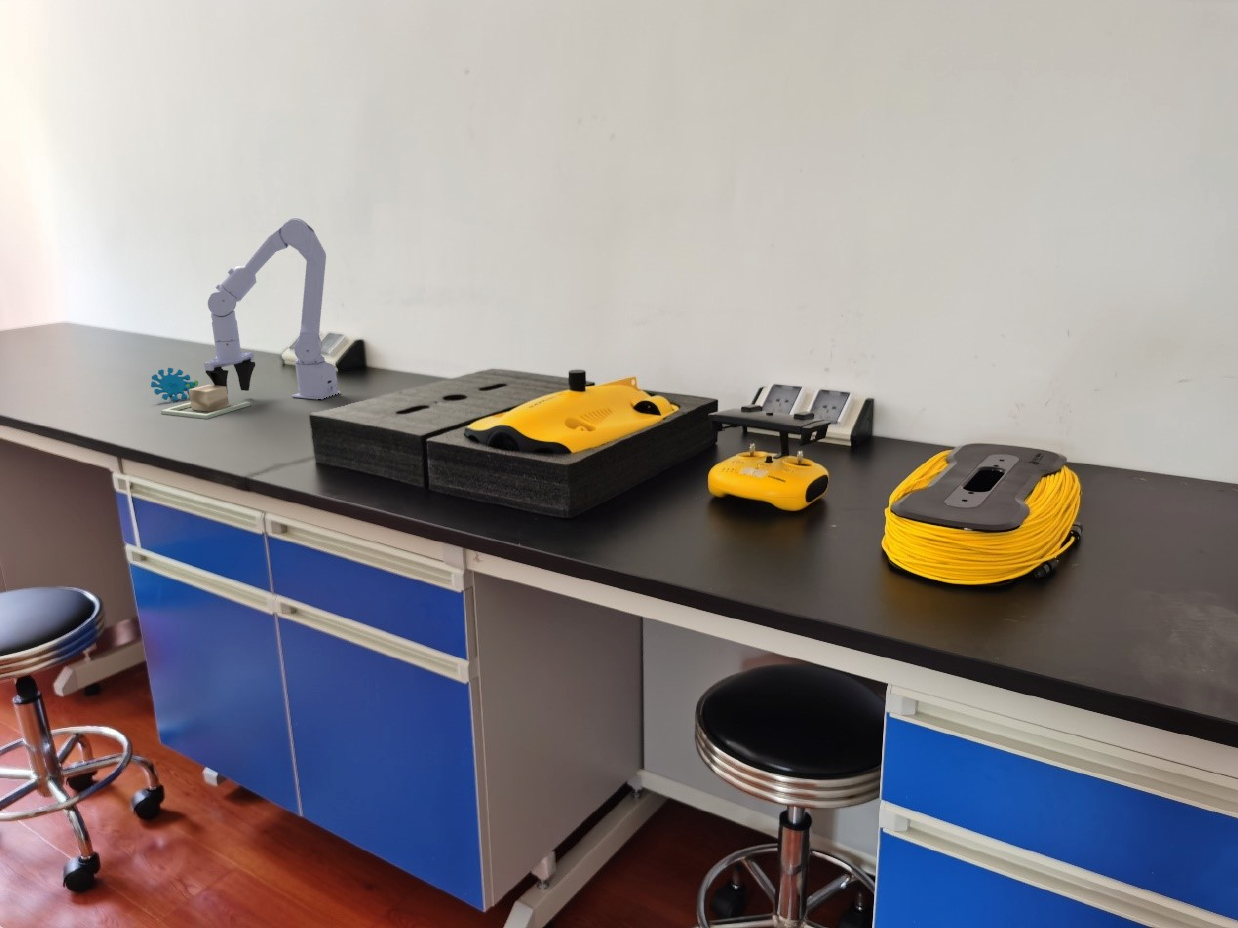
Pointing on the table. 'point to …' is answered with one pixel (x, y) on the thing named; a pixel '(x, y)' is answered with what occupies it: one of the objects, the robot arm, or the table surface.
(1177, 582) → the table surface
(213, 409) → the block
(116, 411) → the table surface
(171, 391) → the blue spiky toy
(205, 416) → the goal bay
